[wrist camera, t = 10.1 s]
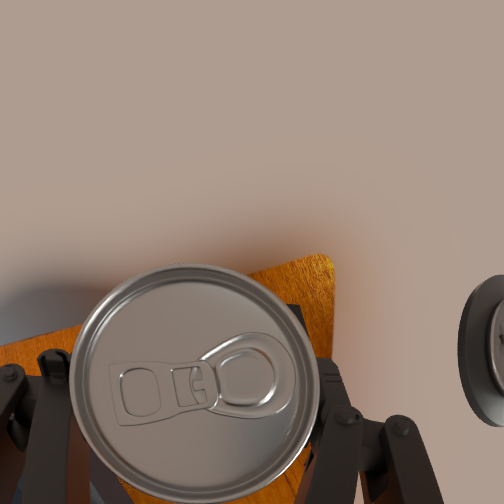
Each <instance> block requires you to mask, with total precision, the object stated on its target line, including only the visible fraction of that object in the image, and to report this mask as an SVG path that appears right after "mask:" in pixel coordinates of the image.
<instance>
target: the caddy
mask: <svg viewBox="0 0 504 504" xmlns="http://www.w3.org/2000/svg"><path fill="white" fill-rule="evenodd" d="M23 476H24V470H23V472H22V475H21V477H20V480H19V482H18V485H17V487H16V490H15V493H14V496H13V498H12V501H11V504H21V498H22V485H23ZM89 477H90V500H91V504H134V503H133V501H132V500H131V498H130V497H129V495H128V494H127V492H126V491H125V489H124V488H123V486H122V485H121V483H120V482H119V480H118V479H117V477H116V476H115V474H114V473H113V472H112V471H110V470H109V469H108V468H107V467H106V466H105V465H104V464H103V463H102V462H101V460H100V459H99V458H98V457H97V456H96V454H95V453H94V452H93V450H92V449H91V447H90V446H89Z"/></svg>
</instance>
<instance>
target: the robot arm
mask: <svg viewBox="0 0 504 504" xmlns="http://www.w3.org/2000/svg"><path fill="white" fill-rule="evenodd" d="M286 305H287V306H288V308H289V309H290V310H291V311H292V312H293V314H294V315H295V316H296V318H297V319H298V320H299V322H300V323H301V325H302V327H303V328H304V330H305V332H306V334H307V336H308V332H307V329H306V325H305V322H304V318H303V315H302V312H301V308H300V305H294V304H286ZM308 338H309V336H308ZM309 340H310V339H309ZM72 353H73V351H72V352H71V354H70V355H69V354H68V352H66V351H64V350H62V349H49V350H46V351H44V352H42V353H41V354H40V355H39V356H38V358H37V361H38V364H39V368H40V371H41V374H42V376H31V375H26V374H25V371H24V369H23V368H22V366H20V365H18V364H6V365H4V366H2V367H0V504H11V501H12V498H13V496H14V493H15V490H16V487H17V485H18V482H19V480H20V477H21V475H22V472H23V470H24V476H23V485H22V498H21V504H91V500H90V477H89V444H88V443H87V441H86V439H85V438H84V436H83V434H82V432H81V430H80V427H79V425H78V423H77V420H76V417H75V414H74V410H73V406H72V402H71V396H70V385H69V374H70V363H71V357H72ZM485 355H486V362H487V367H488V371H489V375H490V377H491V380H492V382H493V384H494V386H495V388H496V389H497V391H498V392H499V393H500V394H501V395H502V396H503V397H504V299H503V300H501V301H500V302H498V303H497V304H496V306H495V307H494V308H493V310H492V312H491V314H490V317H489V320H488V323H487V328H486V335H485ZM316 361H317V365H318V371H319V380H320V397H319V406H318V412H317V416H316V420H315V423H314V426H313V429H312V432H311V434H310V436H309V438H308V441H307V442H306V444H305V446H304V448H306V447H307V445H308V443H309V441H310V442H311V448H312V449H311V451H310V453H309V455H308V457H307V459H306V461H305V464H304V466H305V469H304V473H303V476H302V479H301V483H300V486H299V489H298V492H297V495H296V498H295V501H294V504H354V499H355V493H356V486H357V479H358V472H359V474H360V479H361V486H362V492H363V499H364V504H444V502H443V499H442V496H441V493H440V489H439V486H438V483H437V480H436V478H435V474H434V471H433V468H432V465H431V463H430V460H429V457H428V455H427V451H426V449H425V446H424V443H423V441H422V438H421V435H420V433H419V430H418V428H417V426H416V424H415V423H414V421H412V420H411V419H410V418H408V417H406V416H403V415H394V416H390V417H389V418H388V419H387V420H386V422H385V423H382V422H376V421H371V420H368V419H365V418H363V415H362V414H361V413H360V411H359V410H357V409H356V408H354V407H352V406H351V403H350V401H349V398H348V395H347V392H346V390H345V386H344V383H342V378H341V376H340V373H339V370H338V367H337V365H336V364H335V363H334V362H333V361H332V360H331V359H330V358H316Z"/></svg>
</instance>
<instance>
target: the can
mask: <svg viewBox="0 0 504 504" xmlns="http://www.w3.org/2000/svg"><path fill="white" fill-rule="evenodd" d="M69 385H70V396H71V402H72V406H73V410H74V414H75V417H76V420H77V423H78V425H79V427H80V430H81V432H82V434H83V436H84V438H85V439H86V441H87V443H88V444H89V446H90V447H91V449H92V450H93V452H94V453H95V454H96V456H97V457H98V458H99V459H100V460H101V462H102V463H103V464H104V465H105V466H106V467H107V468H108V469H109V470H110V471H112V472H113V473H114V474H115V475H116V476H117V477H119V478H120V479H121V480H123V481H124V482H126V483H127V484H129V485H130V486H132V487H134V488H135V489H137V490H139V491H141V492H143V493H145V494H148V495H150V496H153V497H155V498H158V499H162V500H165V501H169V502H174V503H179V504H219V503H225V502H229V501H233V500H237V499H240V498H243V497H245V496H248V495H250V494H252V493H254V492H256V491H258V490H260V489H262V488H264V487H265V486H267V485H268V484H270V483H271V482H273V481H274V480H275V479H277V478H278V477H279V476H280V475H281V474H282V473H283V472H285V471H286V470H287V469H288V467H289V466H290V465H291V464H292V463H293V462H294V461H295V459H296V458H297V457H298V455H299V454H300V452H301V451H302V449H303V448H304V446H305V444H306V442H307V441H308V438H309V436H310V434H311V432H312V429H313V426H314V423H315V420H316V416H317V412H318V406H319V397H320V380H319V371H318V365H317V361H316V357H315V354H314V351H313V348H312V345H311V343H310V340H309V338H308V336H307V334H306V332H305V330H304V328H303V327H302V325H301V323H300V322H299V320H298V319H297V318H296V316H295V315H294V314H293V312H292V311H291V310H290V309H289V308H288V306H287V305H286V304H285V303H284V302H283V301H282V300H281V299H280V298H279V297H277V296H276V295H275V294H274V293H273V292H271V291H270V290H269V289H267V288H266V287H265V286H263V285H262V284H260V283H259V282H257V281H255V280H253V279H251V278H250V277H248V276H245V275H243V274H241V273H239V272H236V271H233V270H230V269H226V268H223V267H219V266H215V265H209V264H200V263H179V264H171V265H165V266H160V267H156V268H153V269H150V270H147V271H144V272H142V273H140V274H137V275H135V276H133V277H131V278H129V279H127V280H126V281H124V282H123V283H121V284H120V285H118V286H117V287H115V288H114V289H113V290H112V291H110V292H109V293H108V294H107V295H106V296H105V297H104V298H103V299H102V300H101V301H100V302H99V303H98V304H97V305H96V306H95V308H94V309H93V310H92V312H91V313H90V314H89V316H88V317H87V319H86V321H85V322H84V324H83V326H82V328H81V330H80V332H79V334H78V337H77V339H76V342H75V345H74V349H73V353H72V357H71V363H70V374H69Z"/></svg>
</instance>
